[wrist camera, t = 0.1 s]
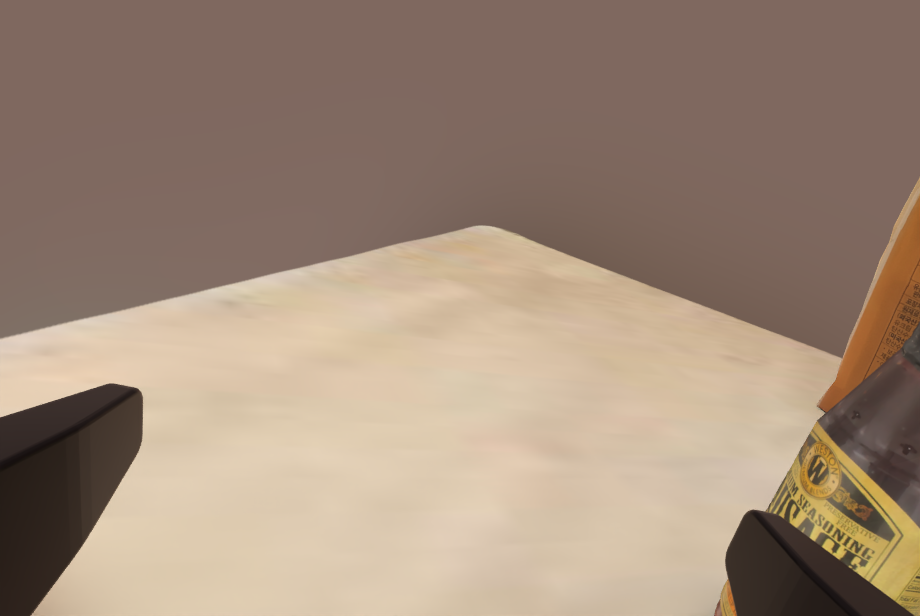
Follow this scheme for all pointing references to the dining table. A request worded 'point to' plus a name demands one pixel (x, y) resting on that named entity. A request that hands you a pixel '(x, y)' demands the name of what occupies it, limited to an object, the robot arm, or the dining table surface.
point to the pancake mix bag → (884, 307)
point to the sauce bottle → (863, 481)
